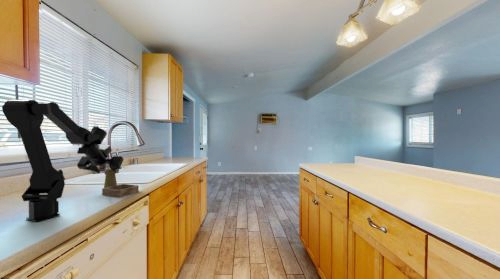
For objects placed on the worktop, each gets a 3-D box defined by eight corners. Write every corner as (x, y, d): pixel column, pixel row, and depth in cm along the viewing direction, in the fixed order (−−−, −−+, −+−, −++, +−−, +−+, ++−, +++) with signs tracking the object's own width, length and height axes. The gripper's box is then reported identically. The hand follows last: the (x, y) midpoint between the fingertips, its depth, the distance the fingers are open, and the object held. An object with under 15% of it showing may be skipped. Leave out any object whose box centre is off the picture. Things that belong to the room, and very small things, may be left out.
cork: (120, 188, 113) (120, 167, 113) (111, 191, 107) (111, 169, 107) (109, 188, 114) (109, 167, 114) (100, 191, 108) (100, 169, 108)
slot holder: (118, 197, 97) (118, 190, 97) (102, 194, 101) (102, 188, 101) (138, 191, 107) (138, 185, 107) (123, 189, 111) (123, 183, 111)
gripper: (121, 139, 103) (133, 159, 115) (81, 139, 103) (97, 159, 114) (111, 157, 96) (125, 177, 107) (67, 158, 95) (86, 177, 107)
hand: (108, 172), depth 109 cm, fingers open, 9 cm apart
